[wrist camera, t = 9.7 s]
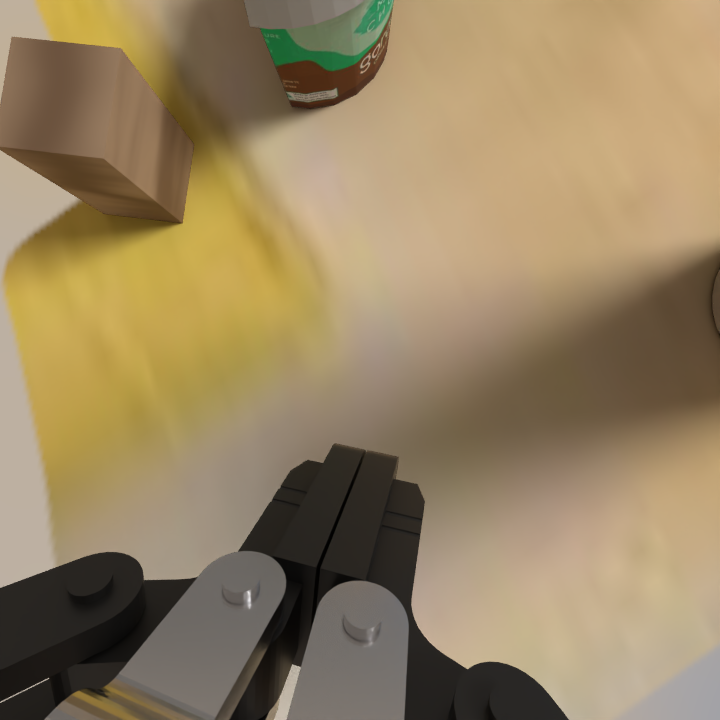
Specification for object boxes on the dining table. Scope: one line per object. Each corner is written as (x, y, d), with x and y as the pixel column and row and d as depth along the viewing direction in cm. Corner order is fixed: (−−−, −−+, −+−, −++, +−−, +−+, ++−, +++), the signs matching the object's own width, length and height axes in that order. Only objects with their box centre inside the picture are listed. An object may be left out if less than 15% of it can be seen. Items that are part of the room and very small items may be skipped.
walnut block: (194, 144, 28) (120, 48, 20) (182, 223, 27) (103, 158, 19) (116, 135, 28) (11, 36, 20) (104, 213, 27) (-7, 145, 19)
